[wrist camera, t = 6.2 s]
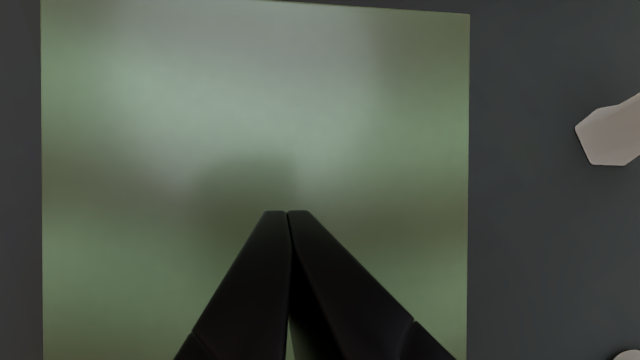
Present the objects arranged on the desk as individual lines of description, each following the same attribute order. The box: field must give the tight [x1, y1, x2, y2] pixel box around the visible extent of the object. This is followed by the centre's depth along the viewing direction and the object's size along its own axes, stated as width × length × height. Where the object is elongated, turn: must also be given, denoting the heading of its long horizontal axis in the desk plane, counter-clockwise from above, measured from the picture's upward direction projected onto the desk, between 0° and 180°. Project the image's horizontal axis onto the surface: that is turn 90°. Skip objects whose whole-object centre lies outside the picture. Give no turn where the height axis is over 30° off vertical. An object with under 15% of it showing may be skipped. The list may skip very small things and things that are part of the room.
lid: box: [41, 0, 470, 360], centre depth 13 cm, size 12×13×1 cm
